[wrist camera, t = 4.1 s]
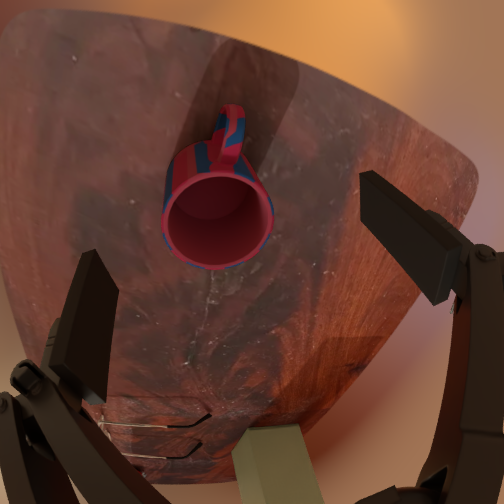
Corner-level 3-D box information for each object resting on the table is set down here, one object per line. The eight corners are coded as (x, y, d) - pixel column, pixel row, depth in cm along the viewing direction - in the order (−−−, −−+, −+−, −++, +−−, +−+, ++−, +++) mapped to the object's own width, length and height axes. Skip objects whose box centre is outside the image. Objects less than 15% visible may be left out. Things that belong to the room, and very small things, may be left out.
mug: (157, 210, 24) (152, 260, 19) (191, 87, 20) (193, 98, 14) (236, 226, 27) (252, 277, 21) (279, 113, 22) (312, 134, 16)
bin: (247, 427, 50) (272, 527, 34) (298, 423, 54) (328, 514, 37) (231, 451, 57) (249, 534, 41) (275, 447, 60) (297, 525, 44)
